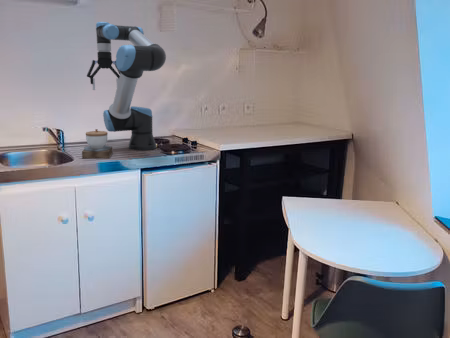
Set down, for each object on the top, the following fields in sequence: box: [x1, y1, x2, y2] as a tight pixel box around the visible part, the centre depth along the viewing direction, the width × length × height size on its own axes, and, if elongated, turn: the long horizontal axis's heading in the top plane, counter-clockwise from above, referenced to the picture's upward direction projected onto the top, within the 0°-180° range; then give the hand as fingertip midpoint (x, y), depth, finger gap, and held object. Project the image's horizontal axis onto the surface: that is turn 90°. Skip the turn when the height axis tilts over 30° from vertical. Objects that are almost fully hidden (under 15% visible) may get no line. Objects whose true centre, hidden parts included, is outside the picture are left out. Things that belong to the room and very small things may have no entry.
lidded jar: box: [85, 128, 108, 149], centre depth 211 cm, size 11×11×9 cm
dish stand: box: [81, 144, 113, 159], centre depth 213 cm, size 13×13×4 cm
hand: (106, 90), depth 237 cm, fingers open, 13 cm apart
